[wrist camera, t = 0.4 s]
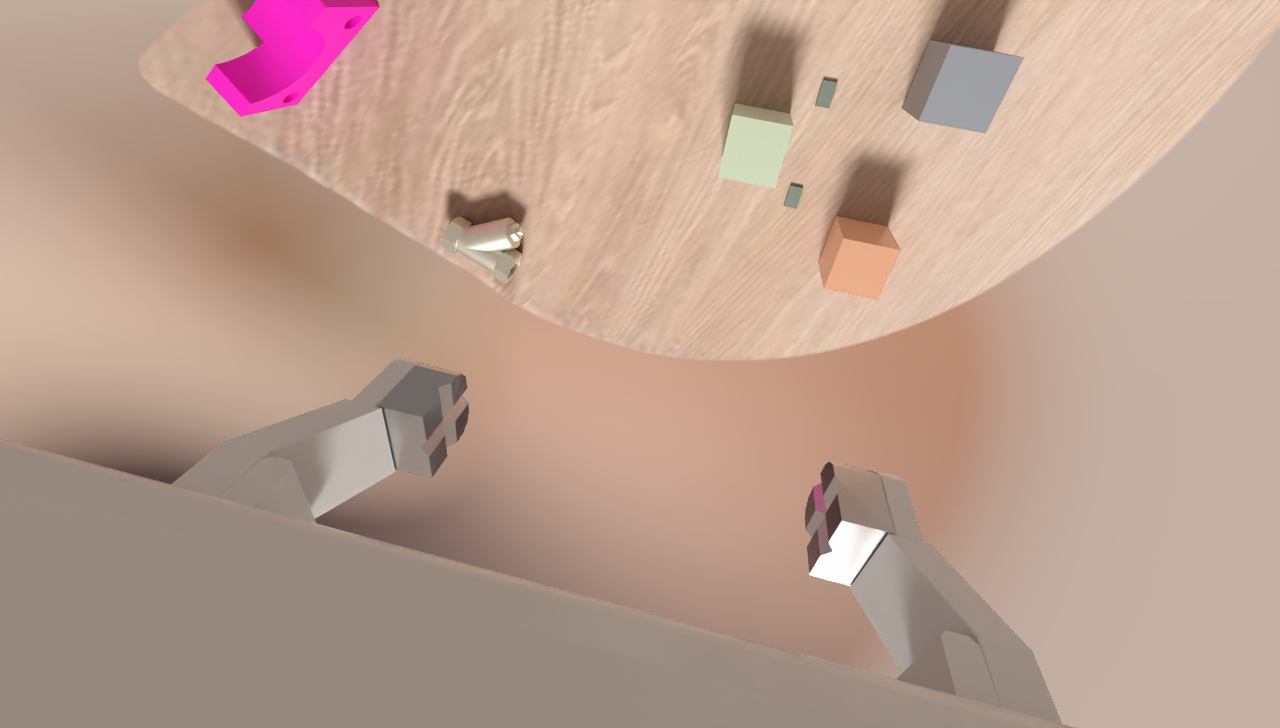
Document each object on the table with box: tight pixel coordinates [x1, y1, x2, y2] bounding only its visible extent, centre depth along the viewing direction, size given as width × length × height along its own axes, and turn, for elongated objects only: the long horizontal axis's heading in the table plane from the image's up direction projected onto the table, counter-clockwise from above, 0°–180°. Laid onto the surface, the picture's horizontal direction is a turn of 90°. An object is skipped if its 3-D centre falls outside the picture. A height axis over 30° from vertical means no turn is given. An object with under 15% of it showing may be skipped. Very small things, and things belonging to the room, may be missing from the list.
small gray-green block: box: [815, 80, 837, 108], centre depth 44 cm, size 2×1×1 cm, turn 172°
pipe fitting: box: [442, 217, 525, 283], centre depth 57 cm, size 8×4×7 cm
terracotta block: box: [818, 216, 901, 300], centre depth 49 cm, size 5×5×6 cm
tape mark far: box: [784, 185, 803, 208], centre depth 50 cm, size 2×1×1 cm, turn 172°
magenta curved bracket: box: [206, 0, 379, 117], centre depth 47 cm, size 15×6×8 cm, turn 124°
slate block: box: [902, 40, 1023, 133], centre depth 40 cm, size 5×5×6 cm
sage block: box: [718, 103, 794, 188], centre depth 45 cm, size 5×5×6 cm
